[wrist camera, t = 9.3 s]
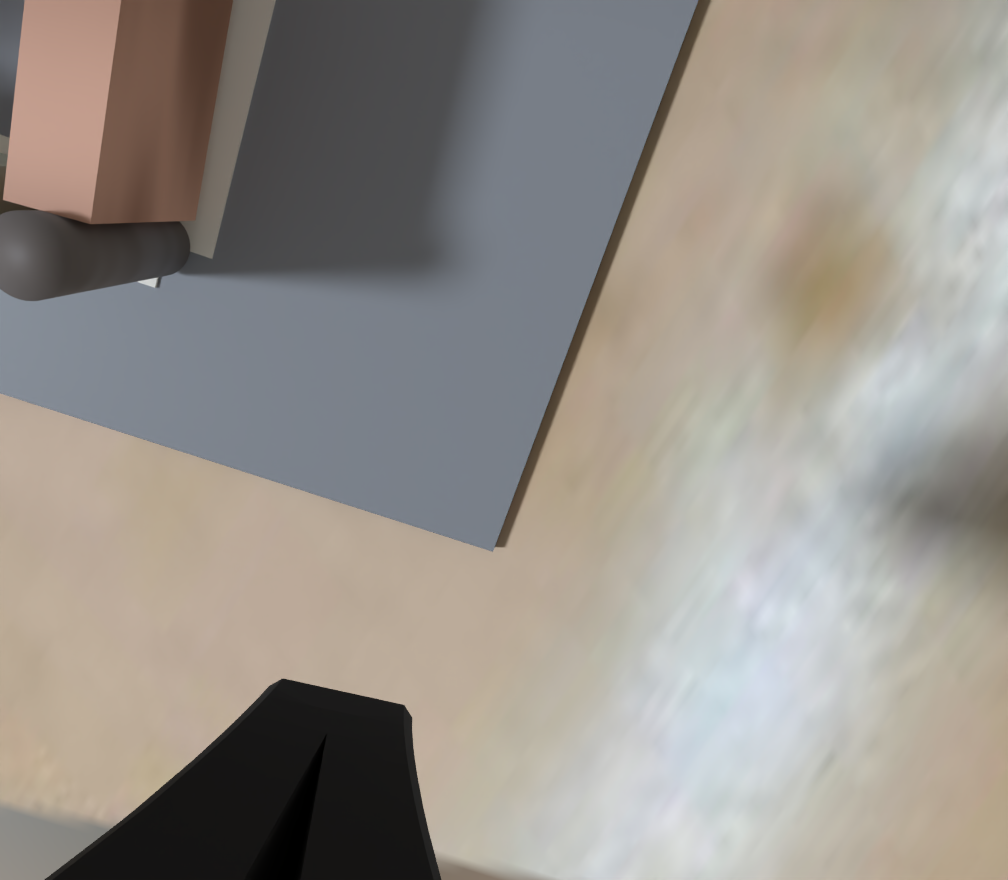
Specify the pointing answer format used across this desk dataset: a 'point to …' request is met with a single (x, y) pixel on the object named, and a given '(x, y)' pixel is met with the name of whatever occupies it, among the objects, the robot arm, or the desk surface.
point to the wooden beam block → (107, 141)
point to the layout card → (371, 249)
